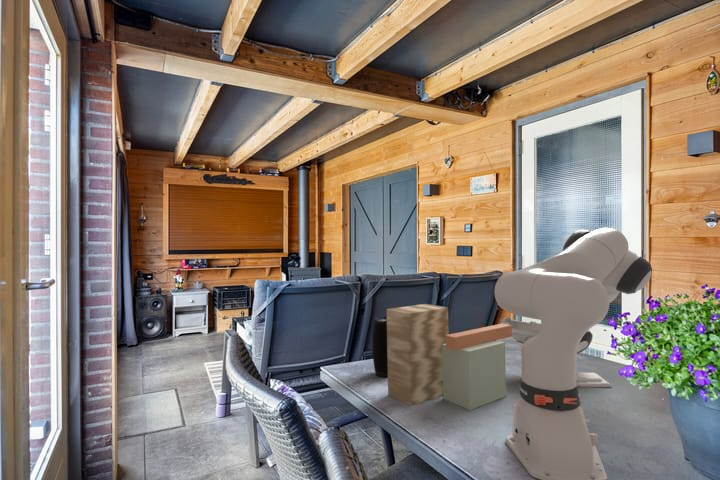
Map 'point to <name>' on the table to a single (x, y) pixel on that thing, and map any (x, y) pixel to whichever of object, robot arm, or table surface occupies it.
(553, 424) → the robot arm
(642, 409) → the table surface
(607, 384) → the light switch
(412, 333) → the tower
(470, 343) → the salmon square-ended bar
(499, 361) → the sage green block
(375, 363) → the portable speaker
